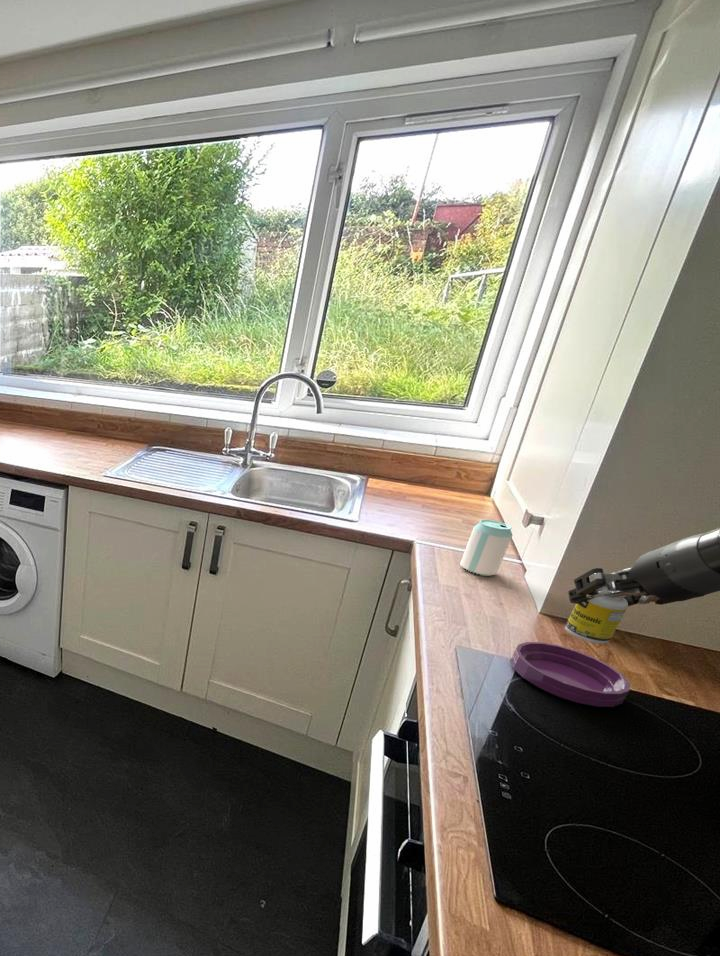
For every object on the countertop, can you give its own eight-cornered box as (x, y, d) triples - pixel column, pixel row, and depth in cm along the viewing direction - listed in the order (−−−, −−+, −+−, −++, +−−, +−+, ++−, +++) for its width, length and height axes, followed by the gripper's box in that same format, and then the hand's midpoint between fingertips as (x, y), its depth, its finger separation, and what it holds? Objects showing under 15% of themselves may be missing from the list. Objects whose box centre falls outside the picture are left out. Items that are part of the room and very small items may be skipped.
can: (469, 562, 142) (486, 516, 138) (502, 574, 136) (521, 527, 132) (453, 567, 139) (470, 520, 135) (486, 579, 133) (505, 532, 129)
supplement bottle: (555, 626, 97) (579, 574, 93) (583, 626, 98) (609, 574, 94) (588, 645, 92) (616, 591, 88) (618, 644, 93) (647, 591, 89)
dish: (640, 698, 95) (649, 682, 94) (589, 718, 90) (598, 702, 89) (540, 650, 107) (547, 635, 106) (490, 665, 102) (497, 650, 101)
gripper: (749, 547, 79) (637, 583, 95) (627, 535, 82) (538, 572, 97) (767, 599, 76) (649, 628, 92) (640, 586, 79) (546, 616, 94)
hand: (592, 600), depth 94 cm, fingers closed on supplement bottle, 5 cm apart
